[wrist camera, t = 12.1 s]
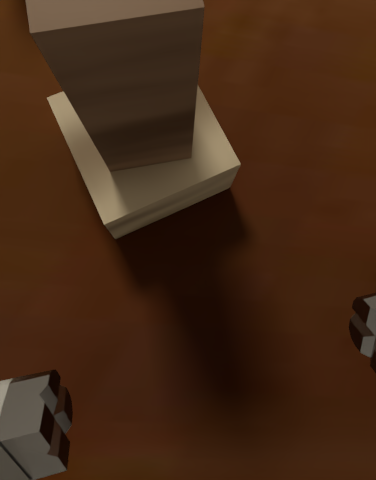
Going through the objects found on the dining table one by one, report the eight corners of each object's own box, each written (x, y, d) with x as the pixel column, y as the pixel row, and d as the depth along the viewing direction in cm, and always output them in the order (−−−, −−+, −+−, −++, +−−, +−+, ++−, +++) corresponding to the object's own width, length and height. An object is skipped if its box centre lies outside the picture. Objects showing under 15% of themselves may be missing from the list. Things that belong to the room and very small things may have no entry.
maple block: (229, 189, 23) (240, 164, 19) (116, 240, 22) (104, 224, 18) (176, 90, 24) (177, 47, 20) (68, 134, 23) (46, 97, 19)
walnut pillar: (191, 157, 19) (204, 7, 9) (110, 171, 18) (30, 33, 9) (176, 83, 19) (173, -135, 9) (97, 96, 19) (10, -114, 9)
